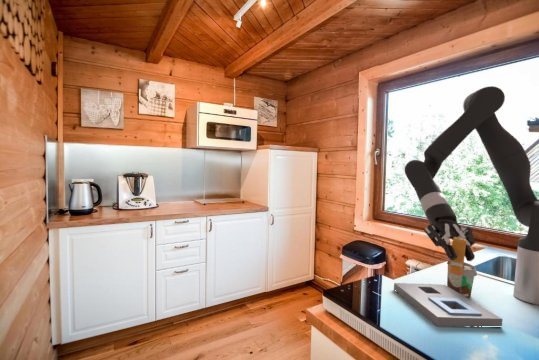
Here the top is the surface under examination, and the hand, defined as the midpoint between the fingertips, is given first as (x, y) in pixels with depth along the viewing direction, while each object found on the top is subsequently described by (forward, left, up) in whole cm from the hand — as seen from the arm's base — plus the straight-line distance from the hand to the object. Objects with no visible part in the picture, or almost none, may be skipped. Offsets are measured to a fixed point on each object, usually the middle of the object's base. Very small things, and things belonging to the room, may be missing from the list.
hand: (462, 259), depth 76 cm
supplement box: (0, -2, -5) cm, 5 cm away
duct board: (0, -7, -17) cm, 18 cm away
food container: (-15, -17, -17) cm, 28 cm away
